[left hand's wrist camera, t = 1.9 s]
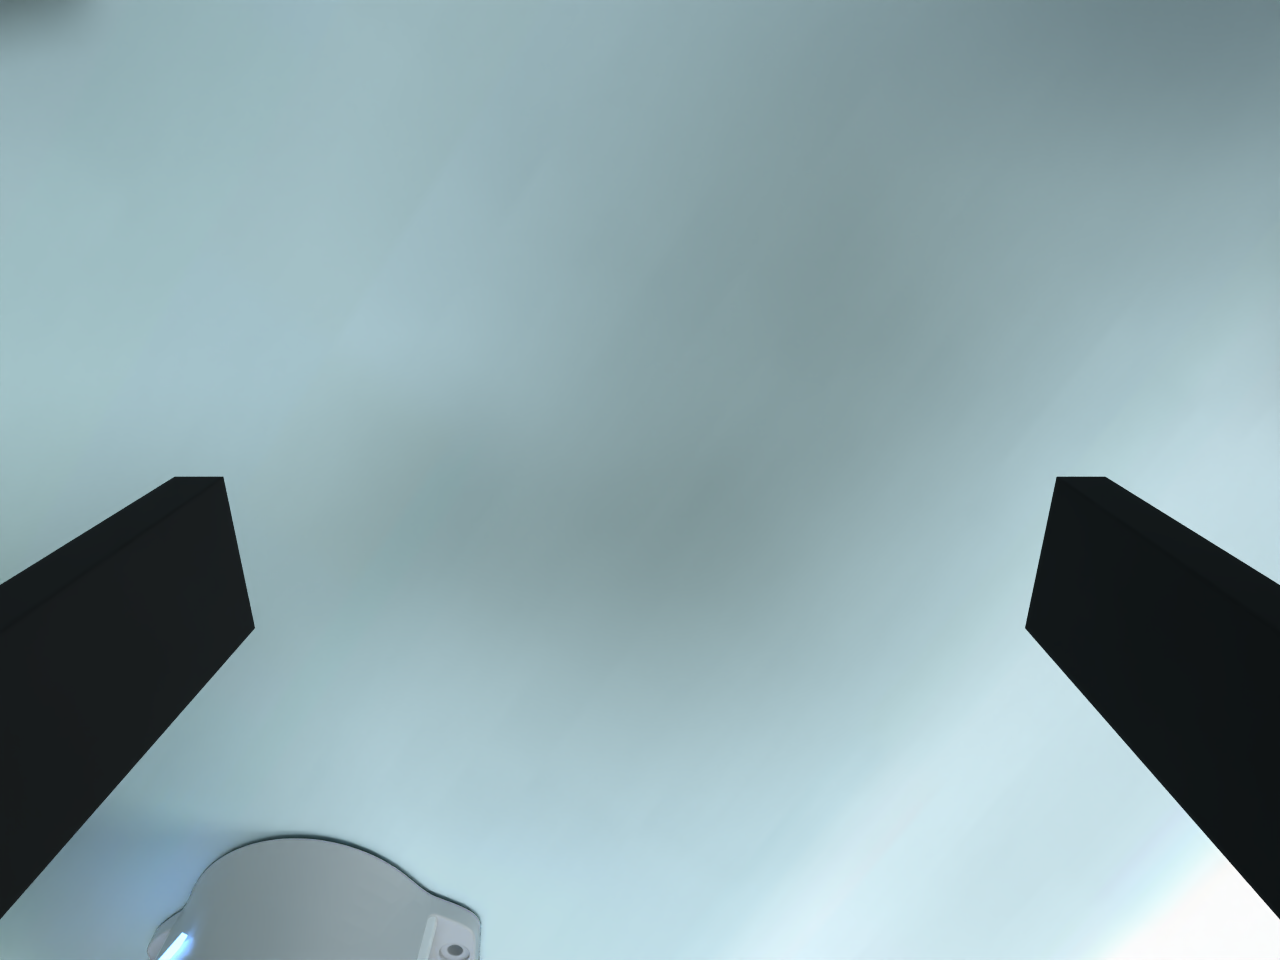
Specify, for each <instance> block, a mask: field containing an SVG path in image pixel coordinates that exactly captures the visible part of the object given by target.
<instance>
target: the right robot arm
mask: <svg viewBox="0 0 1280 960" xmlns="http://www.w3.org/2000/svg"><path fill="white" fill-rule="evenodd" d="M480 931H481V925H480V921H479V919H478V917H477V916H476V915H475V914H474V913H473V912H471V911H470V910H468V909H466V908H464V907H462V906H459V905H457V904H455V903H452V902H449V901H447V900H444V899H441V898H438V897H436V896H433V895H431V894H430V893H428V892H427V891H425V890H424V889H422V888H421V887H420V886H419V885H417V884H416V883H415V882H414V881H412V880H411V879H410V878H409V877H408V876H406V875H405V874H404V873H402V872H401V871H400V870H398V869H397V868H395V867H394V866H392V865H391V864H389V863H387V862H385V861H384V860H382V859H380V858H378V857H376V856H374V855H372V854H369V853H367V852H364V851H362V850H359V849H356V848H353V847H350V846H347V845H343V844H339V843H335V842H330V841H324V840H317V839H306V838H284V839H274V840H267V841H262V842H257V843H254V844H250V845H247V846H244V847H241V848H239V849H236V850H234V851H232V852H230V853H228V854H226V855H225V856H223V857H221V858H220V859H218V860H217V861H216V862H214V863H213V864H212V865H211V866H210V867H209V868H208V869H207V870H206V871H205V872H204V873H203V874H202V875H201V877H200V878H199V880H198V881H197V883H196V884H195V886H194V888H193V891H192V893H191V895H190V897H189V899H188V902H187V904H186V905H185V907H184V908H183V909H182V910H181V911H180V912H178V913H177V914H175V915H174V916H172V917H171V918H169V919H168V920H167V921H165V922H164V923H163V924H161V925H160V926H159V927H158V929H157V930H156V932H155V934H154V936H153V938H152V939H151V941H150V943H149V945H148V948H147V954H148V956H149V958H150V960H479V952H480Z"/></svg>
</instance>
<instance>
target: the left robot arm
mask: <svg viewBox="0 0 1280 960" xmlns="http://www.w3.org/2000/svg"><path fill="white" fill-rule="evenodd" d="M254 629H255V626H254V621H253V616H252V612H251V607H250V602H249V597H248V593H247V588H246V583H245V578H244V573H243V569H242V564H241V559H240V554H239V550H238V545H237V540H236V535H235V530H234V526H233V521H232V516H231V511H230V506H229V502H228V497H227V492H226V487H225V483H224V478H223V477H173V478H172V479H170V480H169V481H167V482H165V483H164V484H162V485H161V486H159V487H157V488H156V489H154V490H153V491H151V492H149V493H148V494H146V495H144V496H143V497H141V498H140V499H138V500H136V501H135V502H133V503H132V504H130V505H128V506H127V507H125V508H124V509H122V510H120V511H119V512H117V513H115V514H114V515H112V516H111V517H109V518H107V519H106V520H104V521H103V522H101V523H99V524H98V525H96V526H95V527H93V528H91V529H90V530H88V531H86V532H85V533H83V534H82V535H80V536H78V537H77V538H75V539H74V540H72V541H70V542H69V543H67V544H66V545H64V546H62V547H61V548H59V549H57V550H56V551H54V552H53V553H51V554H49V555H48V556H46V557H45V558H43V559H41V560H40V561H38V562H37V563H35V564H33V565H32V566H30V567H28V568H27V569H25V570H24V571H22V572H20V573H19V574H17V575H16V576H14V577H12V578H11V579H9V580H8V581H6V582H4V583H3V584H1V585H0V919H1V918H2V917H3V915H4V914H5V913H6V912H7V911H8V910H9V909H10V907H11V906H12V905H13V904H14V903H15V902H16V901H17V899H18V898H19V897H20V896H21V895H22V894H23V893H24V891H25V890H26V889H27V888H28V887H29V886H30V885H31V883H32V882H33V881H34V880H35V879H36V878H37V877H38V875H39V874H40V873H41V872H42V871H43V870H44V869H45V867H46V866H47V865H48V864H49V863H50V862H51V861H52V859H53V858H54V857H55V856H56V855H57V854H58V853H59V851H60V850H61V849H62V848H63V847H64V846H65V845H66V843H67V842H68V841H69V840H70V839H71V838H72V837H73V835H74V834H75V833H76V832H77V831H78V830H79V829H80V827H81V826H82V825H83V824H84V823H85V822H86V821H87V819H88V818H89V817H90V816H91V815H92V814H93V813H94V811H95V810H96V809H97V808H98V807H99V806H100V805H101V803H102V802H103V801H104V800H105V799H106V798H107V797H108V795H109V794H110V793H111V792H112V791H113V790H114V789H115V787H116V786H117V785H118V784H119V783H120V782H121V781H122V779H123V778H124V777H125V776H126V775H127V774H128V773H129V771H130V770H131V769H132V768H133V767H134V766H135V765H136V763H137V762H138V761H139V760H140V759H141V758H142V757H143V755H144V754H145V753H146V752H147V751H148V750H149V749H150V747H151V746H152V745H153V744H154V743H155V742H156V741H157V739H158V738H159V737H160V736H161V735H162V734H163V733H164V731H165V730H166V729H167V728H168V727H169V726H170V725H171V723H172V722H173V721H174V720H175V719H176V718H177V717H178V715H179V714H180V713H181V712H182V711H183V710H184V709H185V707H186V706H187V705H188V704H189V703H190V702H191V701H192V699H193V698H194V697H195V696H196V695H197V694H198V693H199V691H200V690H201V689H202V688H203V687H204V686H205V685H206V683H207V682H208V681H209V680H210V679H211V678H212V677H213V675H214V674H215V673H216V672H217V671H218V670H219V669H220V667H221V666H222V665H223V664H224V663H225V662H226V661H227V659H228V658H229V657H230V656H231V655H232V654H233V653H234V651H235V650H236V649H237V648H238V647H239V646H240V645H241V643H242V642H243V641H244V640H245V639H246V638H247V637H248V635H249V634H250V633H251V632H252V631H253V630H254ZM1025 629H1026V630H1027V631H1028V632H1029V633H1030V634H1031V635H1032V637H1033V638H1034V639H1035V640H1036V641H1037V642H1038V643H1039V645H1040V646H1041V647H1042V648H1043V649H1044V650H1045V651H1046V653H1047V654H1048V655H1049V656H1050V657H1051V658H1052V659H1053V661H1054V662H1055V663H1056V664H1057V665H1058V666H1059V667H1060V669H1061V670H1062V671H1063V672H1064V673H1065V674H1066V675H1067V677H1068V678H1069V679H1070V680H1071V681H1072V682H1073V683H1074V685H1075V686H1076V687H1077V688H1078V689H1079V690H1080V691H1081V693H1082V694H1083V695H1084V696H1085V697H1086V698H1087V699H1088V701H1089V702H1090V703H1091V704H1092V705H1093V706H1094V707H1095V709H1096V710H1097V711H1098V712H1099V713H1100V714H1101V715H1102V717H1103V718H1104V719H1105V720H1106V721H1107V722H1108V723H1109V725H1110V726H1111V727H1112V728H1113V729H1114V730H1115V731H1116V733H1117V734H1118V735H1119V736H1120V737H1121V738H1122V739H1123V741H1124V742H1125V743H1126V744H1127V745H1128V746H1129V747H1130V749H1131V750H1132V751H1133V752H1134V753H1135V754H1136V755H1137V757H1138V758H1139V759H1140V760H1141V761H1142V762H1143V763H1144V765H1145V766H1146V767H1147V768H1148V769H1149V770H1150V771H1151V773H1152V774H1153V775H1154V776H1155V777H1156V778H1157V779H1158V781H1159V782H1160V783H1161V784H1162V785H1163V786H1164V787H1165V789H1166V790H1167V791H1168V792H1169V793H1170V794H1171V795H1172V797H1173V798H1174V799H1175V800H1176V801H1177V802H1178V803H1179V805H1180V806H1181V807H1182V808H1183V809H1184V810H1185V811H1186V813H1187V814H1188V815H1189V816H1190V817H1191V818H1192V819H1193V821H1194V822H1195V823H1196V824H1197V825H1198V826H1199V827H1200V829H1201V830H1202V831H1203V832H1204V833H1205V834H1206V835H1207V837H1208V838H1209V839H1210V840H1211V841H1212V842H1213V843H1214V845H1215V846H1216V847H1217V848H1218V849H1219V850H1220V851H1221V853H1222V854H1223V855H1224V856H1225V857H1226V858H1227V859H1228V861H1229V862H1230V863H1231V864H1232V865H1233V866H1234V867H1235V869H1236V870H1237V871H1238V872H1239V873H1240V874H1241V875H1242V877H1243V878H1244V879H1245V880H1246V881H1247V882H1248V883H1249V885H1250V886H1251V887H1252V888H1253V889H1254V890H1255V891H1256V893H1257V894H1258V895H1259V896H1260V897H1261V898H1262V899H1263V901H1264V902H1265V903H1266V904H1267V905H1268V906H1269V907H1270V909H1271V910H1272V911H1273V912H1274V913H1275V914H1276V915H1277V917H1278V918H1279V919H1280V585H1279V584H1277V583H1276V582H1274V581H1272V580H1271V579H1269V578H1268V577H1266V576H1264V575H1263V574H1261V573H1260V572H1258V571H1256V570H1255V569H1253V568H1252V567H1250V566H1248V565H1247V564H1245V563H1243V562H1242V561H1240V560H1239V559H1237V558H1235V557H1234V556H1232V555H1231V554H1229V553H1227V552H1226V551H1224V550H1223V549H1221V548H1219V547H1218V546H1216V545H1214V544H1213V543H1211V542H1210V541H1208V540H1206V539H1205V538H1203V537H1202V536H1200V535H1198V534H1197V533H1195V532H1194V531H1192V530H1190V529H1189V528H1187V527H1185V526H1184V525H1182V524H1181V523H1179V522H1177V521H1176V520H1174V519H1173V518H1171V517H1169V516H1168V515H1166V514H1165V513H1163V512H1161V511H1160V510H1158V509H1156V508H1155V507H1153V506H1152V505H1150V504H1148V503H1147V502H1145V501H1144V500H1142V499H1140V498H1139V497H1137V496H1136V495H1134V494H1132V493H1131V492H1129V491H1127V490H1126V489H1124V488H1123V487H1121V486H1119V485H1118V484H1116V483H1115V482H1113V481H1111V480H1110V479H1108V478H1107V477H1057V478H1056V483H1055V487H1054V492H1053V497H1052V502H1051V506H1050V511H1049V516H1048V521H1047V526H1046V530H1045V535H1044V540H1043V545H1042V549H1041V554H1040V559H1039V564H1038V569H1037V573H1036V578H1035V583H1034V588H1033V593H1032V597H1031V602H1030V607H1029V612H1028V616H1027V621H1026V626H1025Z"/></svg>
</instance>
